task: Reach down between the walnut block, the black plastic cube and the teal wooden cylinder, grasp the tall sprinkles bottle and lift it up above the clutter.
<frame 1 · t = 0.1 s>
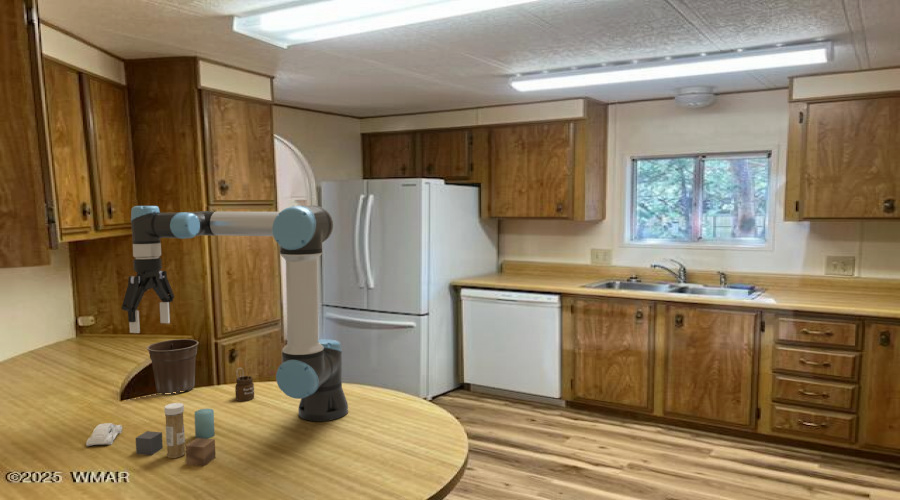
hand: (150, 327, 181), 28 cm above the counter, tool pointing down, fingers open, 13 cm apart
black plastic cube: (149, 451, 160), on the counter
sprinkles bottle: (176, 455, 157), on the counter
utensil holder: (245, 399, 201), on the counter
teal cylinder: (205, 435, 170), on the counter
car: (105, 440, 168), on the counter
walnut block: (201, 461, 154), on the counter
plant pot: (175, 390, 210), on the counter
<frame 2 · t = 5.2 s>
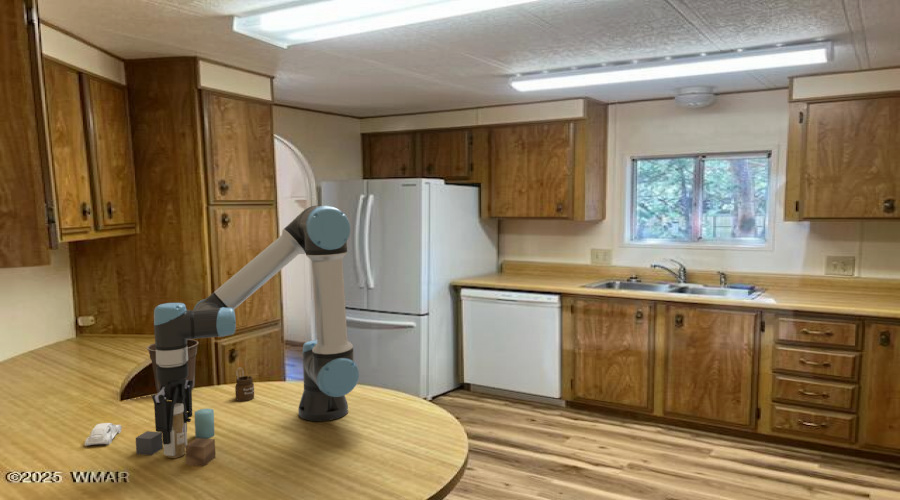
hand: (175, 450, 157), 1 cm above the counter, tool pointing down, fingers closed on sprinkles bottle, 4 cm apart
sprinkles bottle: (176, 455, 157), on the counter, touching gripper
everything else where it was.
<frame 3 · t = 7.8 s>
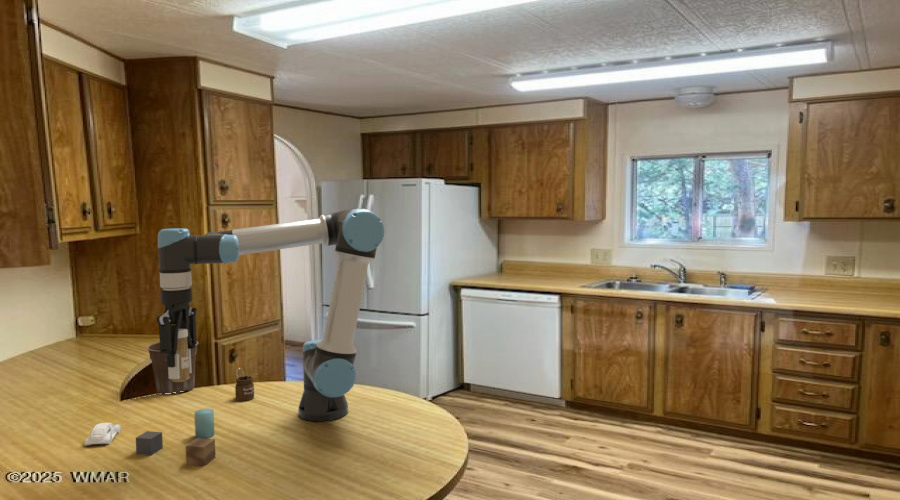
hand: (180, 375, 158), 20 cm above the counter, tool pointing down, fingers closed on sprinkles bottle, 4 cm apart
sprinkles bottle: (180, 380, 158), point 19 cm above the counter, touching gripper
everything else where it was.
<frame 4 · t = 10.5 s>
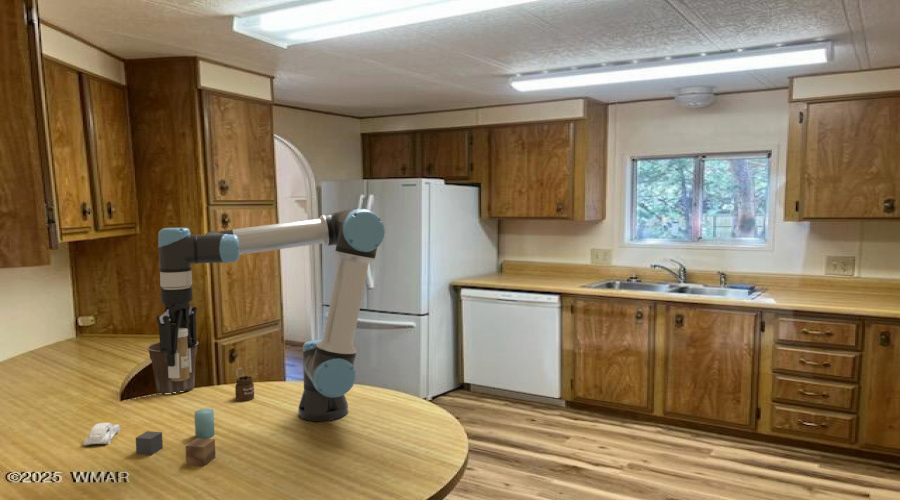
hand: (180, 374, 158), 21 cm above the counter, tool pointing down, fingers closed on sprinkles bottle, 4 cm apart
sprinkles bottle: (180, 379, 159), point 19 cm above the counter, touching gripper
everything else where it was.
at the end: sprinkles bottle point 19.2 cm above the counter; the gripper is holding sprinkles bottle; walnut block moved 0.1 cm from its start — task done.
